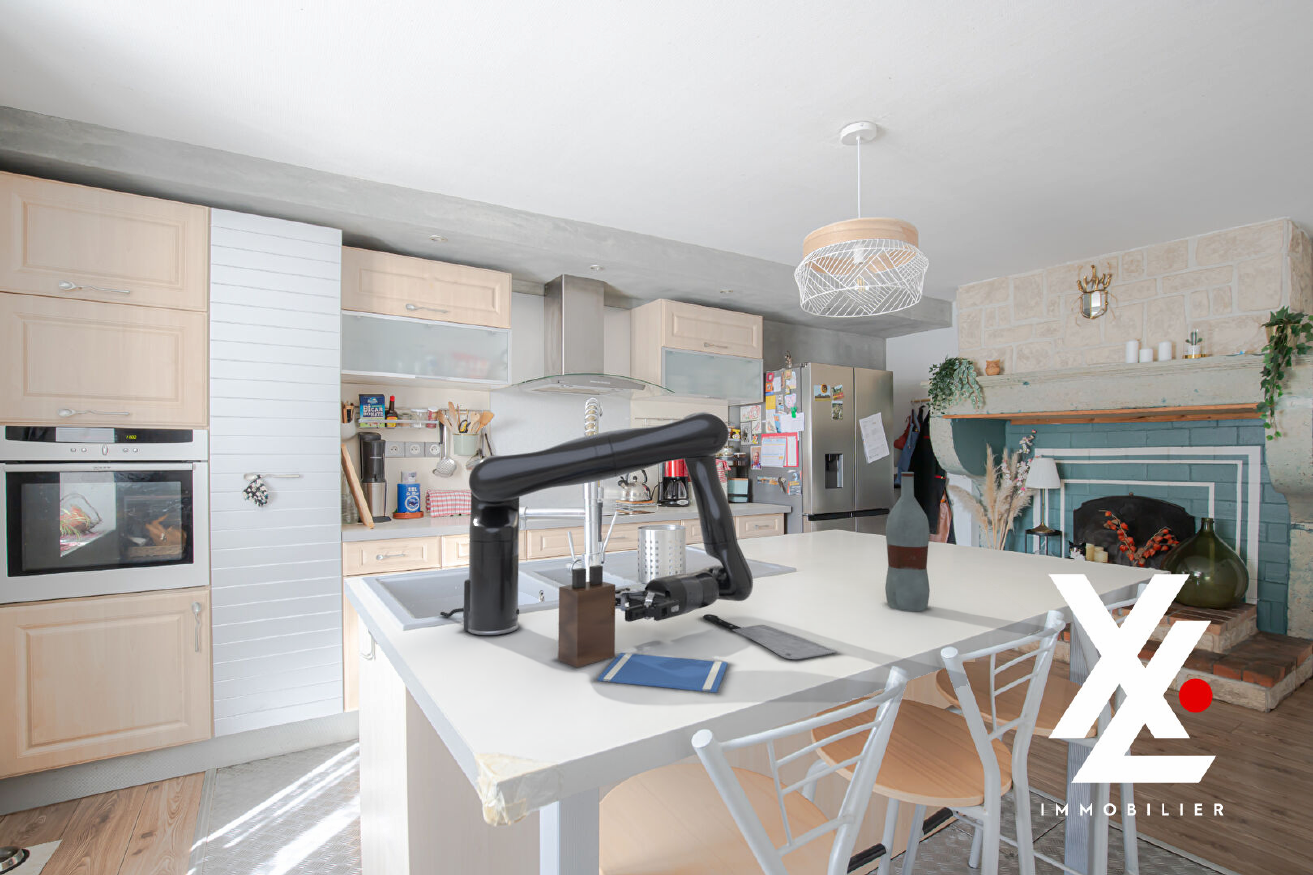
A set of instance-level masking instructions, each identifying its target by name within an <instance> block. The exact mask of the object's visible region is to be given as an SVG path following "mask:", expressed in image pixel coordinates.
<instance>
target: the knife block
mask: <svg viewBox="0 0 1313 875" xmlns="http://www.w3.org/2000/svg"><path fill="white" fill-rule="evenodd" d="M588 570H589V571H588V573H589V574H588V576H589V577H588V581H587V568H584V567H578V568H573V569H571V573H572V574H571V584H568V585H562V586H558V648H557V649H558V652H557V654H558V655H557V658H558V659H557V660H558V661H559V662H562V663H565V664H566V665H568V666H571V667H574V668H576V669H578V668H581V667H584V666H587V665H591V664H595V663H598V662H601V661H604V660H607V659H611V658H614V657H615V656H616V609H615V590H616V584H615V583H612V582H611V583H610V582H606V581H603V580H604V576H603V575H604V574H603V573H604V566H603V565H600V564H596V565H591V566H589V569H588Z"/></svg>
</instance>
